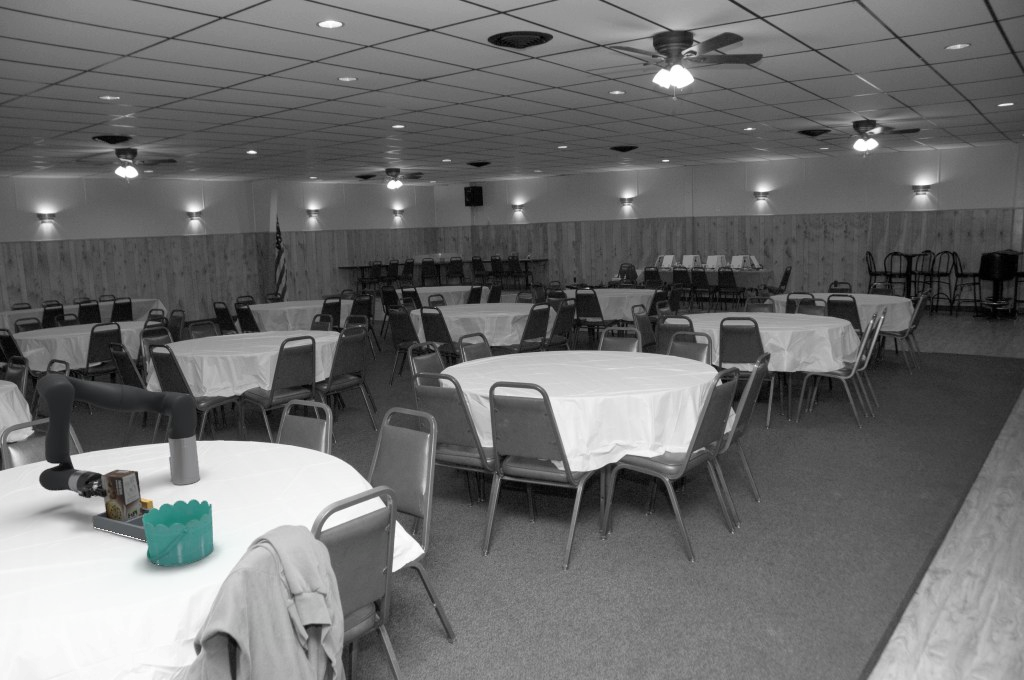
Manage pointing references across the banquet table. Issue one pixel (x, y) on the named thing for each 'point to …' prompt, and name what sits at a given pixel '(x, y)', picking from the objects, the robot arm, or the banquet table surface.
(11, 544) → the banquet table surface
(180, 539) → the basket
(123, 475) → the coffee box
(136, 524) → the grey divided tray
